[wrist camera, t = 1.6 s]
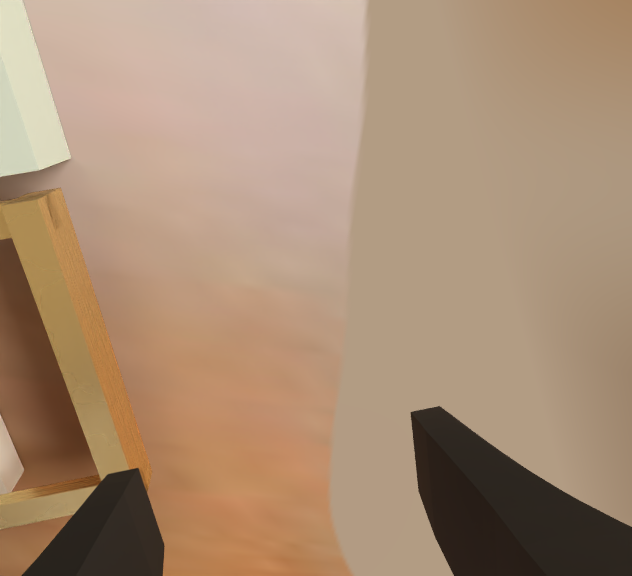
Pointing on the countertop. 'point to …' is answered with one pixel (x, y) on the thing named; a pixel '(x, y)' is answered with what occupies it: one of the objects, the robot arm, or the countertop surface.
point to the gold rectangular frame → (70, 355)
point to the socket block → (8, 462)
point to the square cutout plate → (25, 99)
